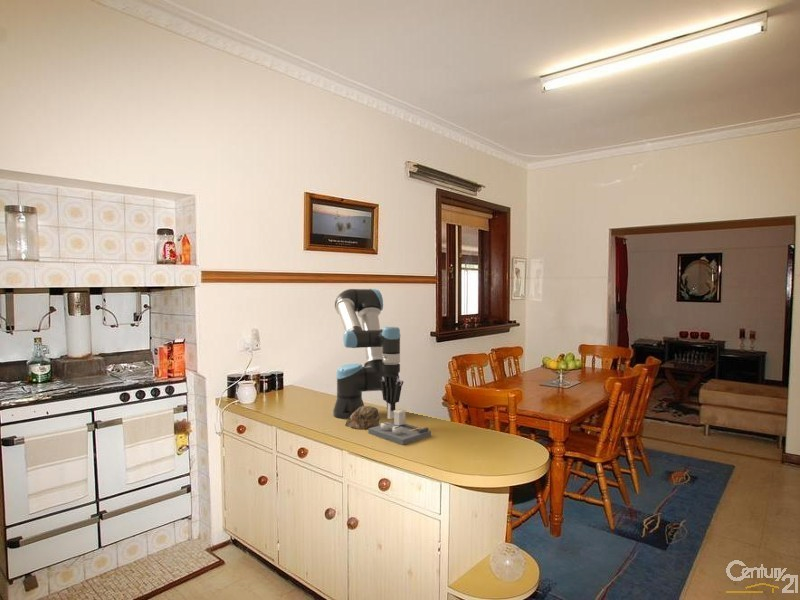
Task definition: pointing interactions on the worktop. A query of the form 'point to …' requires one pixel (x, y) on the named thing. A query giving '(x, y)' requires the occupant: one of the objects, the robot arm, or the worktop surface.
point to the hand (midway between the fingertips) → (391, 418)
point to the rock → (364, 418)
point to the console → (399, 432)
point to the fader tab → (399, 417)
